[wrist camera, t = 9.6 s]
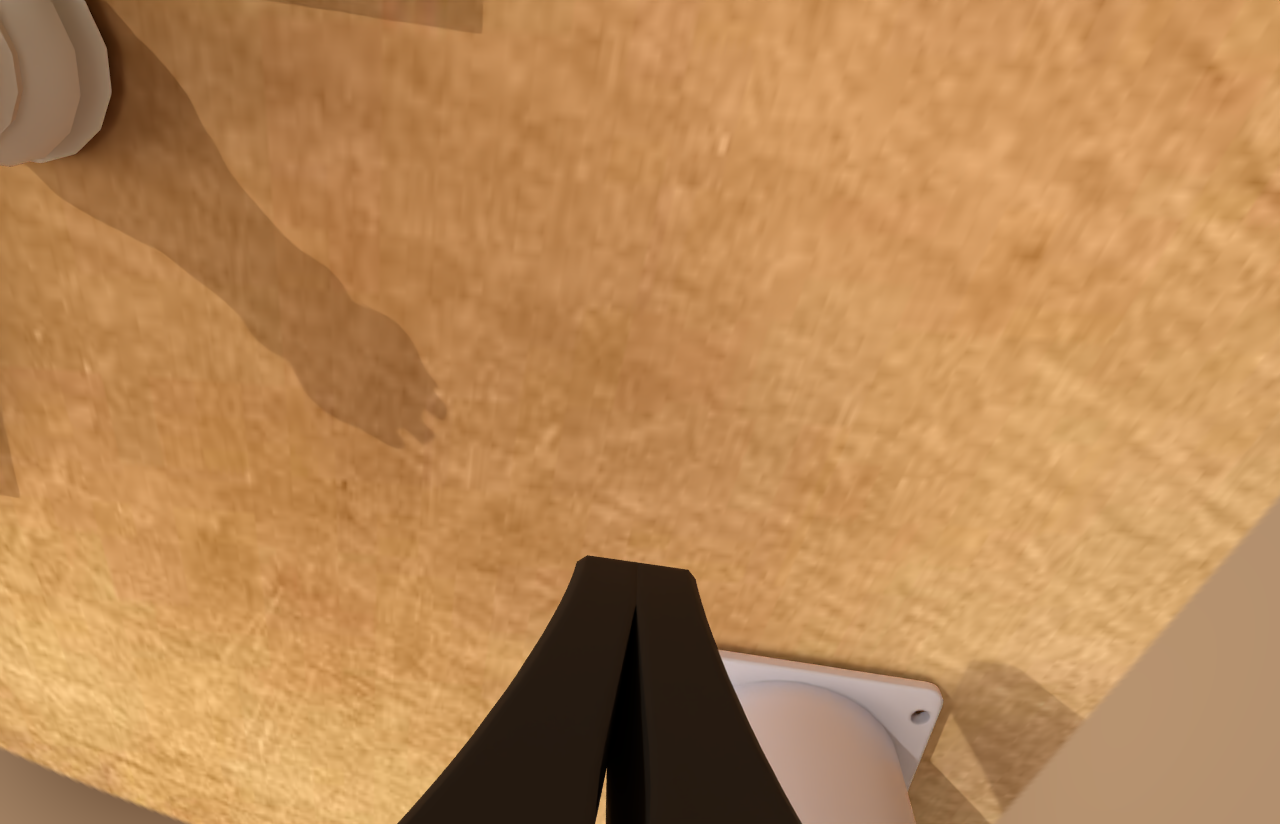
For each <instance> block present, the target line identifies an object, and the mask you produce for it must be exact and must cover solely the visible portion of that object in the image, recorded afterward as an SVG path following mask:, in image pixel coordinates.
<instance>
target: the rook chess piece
mask: <svg viewBox="0 0 1280 824" xmlns="http://www.w3.org/2000/svg"><path fill="white" fill-rule="evenodd" d="M111 94H112V90H111V81H110V72H109V63H108V55H107V47H106V45H105V43H104V41H103V39H102V37H101V34H100V32H99V30H98V28H97V26H96V24H95V22H94V19H93V17H92V15H91V13H90V11H89V9H88V6H87V4H86V2H85V1H84V0H0V165H2V166H9V167H11V166H15V165H19V164H23V163H26V162H30V161H32V162H38V163H44V162H48V161H51V160H55V159H59V158H63V157H67V156H70V155H74V154H76V153H77V152H78V151H79V150H81V149H82V148H83V147H84V146H85V145H86V144H87V143H88V142H89V141H90V140H91V139H92V138H93V137H94V136H95V135H96V134H97V133H98V132H99V131H100V130H101V127H102V124H103V120H104V117H105V114H106V110H107V107H108V104H109V100H110V97H111Z"/></svg>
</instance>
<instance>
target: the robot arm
mask: <svg viewBox="0 0 1280 824" xmlns="http://www.w3.org/2000/svg"><path fill="white" fill-rule="evenodd" d="M942 706H943V698H942V695H941V692H940V690H939V688H938V687H937V686H936V685H935V684H933V683H930V682H926V681H920V680H913V679H907V678H900V677H894V676H887V675H881V674H874V673H868V672H861V671H855V670H848V669H842V668H835V667H829V666H822V665H816V664H809V663H803V662H796V661H790V660H783V659H777V658H771V657H764V656H758V655H751V654H745V653H738V652H732V651H725V650H719V649H718V648H717V646H716V643H715V640H714V638H713V635H712V632H711V630H710V627H709V624H708V621H707V618H706V615H705V612H704V609H703V606H702V602H701V599H700V595H699V592H698V588H697V584H696V579H695V578H694V577H693V575H692V574H691V573H690V572H689V570H685V569H678V568H671V567H665V566H658V565H651V564H644V563H637V562H630V561H623V560H616V559H609V558H602V557H595V556H588V555H587V556H586V557H584V558H582V559H581V560H579V561H577V563H576V567H575V570H574V573H573V576H572V578H571V581H570V583H569V585H568V588H567V590H566V592H565V594H564V596H563V598H562V600H561V602H560V604H559V606H558V608H557V610H556V611H555V613H554V615H553V617H552V619H551V620H550V622H549V624H548V626H547V627H546V629H545V631H544V633H543V634H542V636H541V637H540V639H539V641H538V642H537V644H536V645H535V647H534V648H533V650H532V652H531V653H530V655H529V656H528V658H527V659H526V661H525V663H524V664H523V666H522V667H521V669H520V670H519V672H518V674H517V675H516V677H515V678H514V679H513V681H512V682H511V684H510V685H509V687H508V688H507V690H506V691H505V692H504V694H503V695H502V696H501V698H500V699H499V700H498V702H497V703H496V704H495V706H494V707H493V708H492V710H491V711H490V712H489V714H488V715H487V717H486V718H485V719H484V721H483V722H482V723H481V725H480V726H479V727H478V729H477V730H476V731H475V733H474V734H473V735H472V737H471V738H470V739H469V741H468V742H467V743H466V744H465V746H464V747H463V748H462V749H461V751H460V752H459V753H458V754H457V756H456V757H455V758H454V759H453V760H452V762H451V763H450V764H449V765H448V767H447V768H446V769H445V770H444V771H443V773H442V774H441V775H440V776H439V777H438V778H437V780H436V781H435V782H434V783H433V784H432V785H431V787H430V788H429V789H428V790H427V791H426V792H425V793H424V795H423V796H422V797H421V798H420V799H419V800H418V801H417V803H416V804H415V805H414V806H413V807H412V808H411V809H410V810H409V812H408V813H407V814H406V815H405V816H404V817H403V818H402V819H401V820H400V821H399V822H398V823H397V824H595V822H596V817H597V812H598V807H599V802H600V797H601V793H602V788H603V783H604V778H605V773H606V768H607V786H606V824H916V822H915V818H914V815H913V811H912V807H911V803H910V800H909V796H908V790H909V787H910V785H911V782H912V780H913V777H914V775H915V772H916V770H917V768H918V765H919V763H920V760H921V758H922V755H923V753H924V750H925V748H926V745H927V743H928V741H929V738H930V736H931V733H932V731H933V728H934V726H935V723H936V721H937V718H938V716H939V714H940V711H941V709H942ZM920 710H923V712H921V713H918V714H914V712H916V711H920Z"/></svg>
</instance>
